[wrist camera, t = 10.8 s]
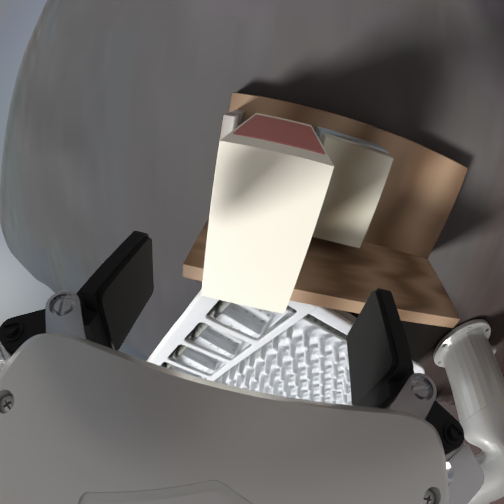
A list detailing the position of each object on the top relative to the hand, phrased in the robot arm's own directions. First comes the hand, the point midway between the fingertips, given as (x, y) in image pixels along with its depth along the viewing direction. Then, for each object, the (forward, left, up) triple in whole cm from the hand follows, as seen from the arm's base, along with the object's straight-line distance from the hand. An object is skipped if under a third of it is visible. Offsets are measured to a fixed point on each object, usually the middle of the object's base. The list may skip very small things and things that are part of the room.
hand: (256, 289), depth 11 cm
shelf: (-7, 0, -19) cm, 21 cm away
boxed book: (0, 0, -17) cm, 17 cm away
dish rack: (-8, +28, -20) cm, 35 cm away
